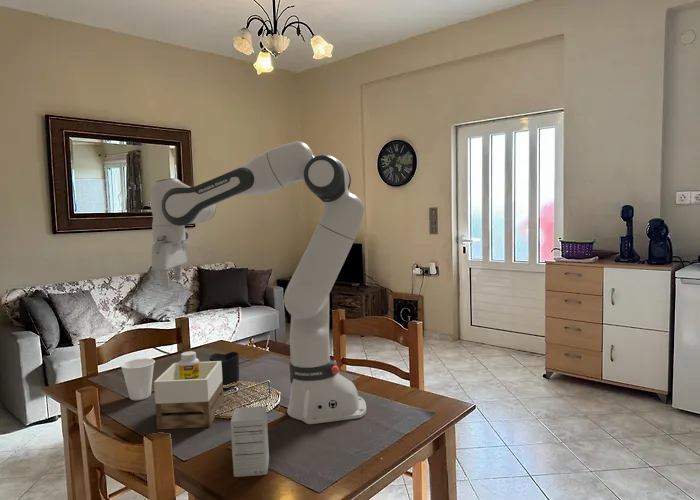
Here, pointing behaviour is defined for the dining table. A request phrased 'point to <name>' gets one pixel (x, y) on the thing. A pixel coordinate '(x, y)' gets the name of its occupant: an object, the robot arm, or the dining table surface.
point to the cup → (138, 377)
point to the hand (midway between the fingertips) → (172, 282)
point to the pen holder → (228, 366)
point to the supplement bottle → (189, 366)
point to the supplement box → (250, 441)
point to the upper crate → (188, 384)
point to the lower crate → (189, 412)
